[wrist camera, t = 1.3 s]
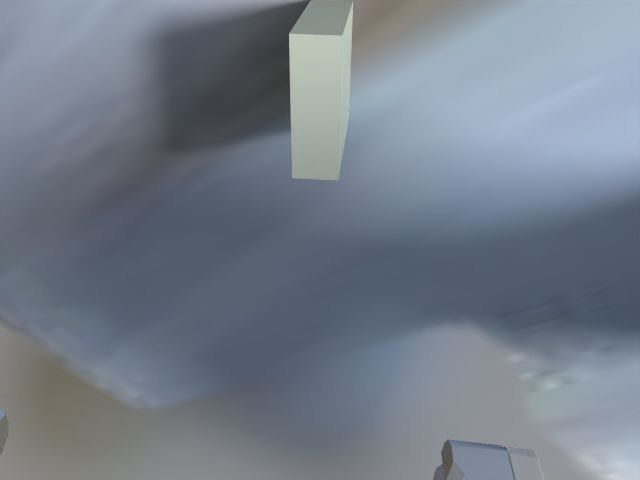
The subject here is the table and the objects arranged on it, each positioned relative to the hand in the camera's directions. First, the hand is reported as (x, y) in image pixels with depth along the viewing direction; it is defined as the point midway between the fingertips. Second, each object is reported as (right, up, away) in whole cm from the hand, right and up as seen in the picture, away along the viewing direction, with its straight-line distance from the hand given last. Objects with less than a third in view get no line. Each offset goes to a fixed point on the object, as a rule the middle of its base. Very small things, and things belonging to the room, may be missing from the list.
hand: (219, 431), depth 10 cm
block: (+2, +12, +18) cm, 22 cm away
